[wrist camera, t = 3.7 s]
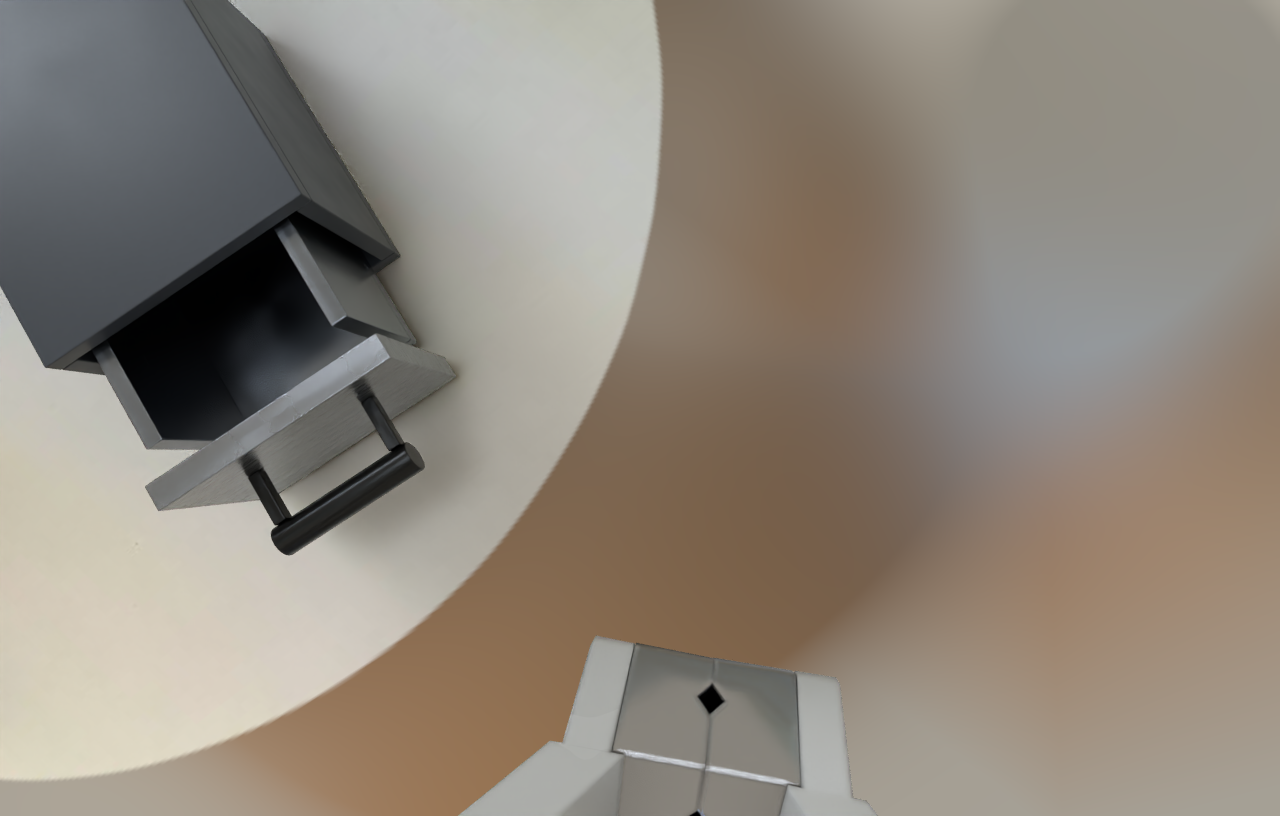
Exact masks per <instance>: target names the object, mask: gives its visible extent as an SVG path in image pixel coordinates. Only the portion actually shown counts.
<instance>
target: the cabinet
mask: <svg viewBox="0 0 1280 816" xmlns="http://www.w3.org/2000/svg"><path fill="white" fill-rule="evenodd" d="M295 211H297V212H299V213H301V214H303V215H304V216H306V217H308V218H309V219H311V220H313V221H315V222H316V223H318V224H320V225H321V226H323V227H325V228H327V229H328V230H330V231H332V232H334V233H335V234H337V235H339V236H340V237H342V238H344V239H346V240H347V241H349V242H351V243H353V244H354V245H356V246H358V247H359V248H360V249H361V251H362V252H363V254H364V256H365V257H366V259H367V261H368V262H369V264H370V265H371V267H372V269H373V270H374V272H375V273H376V272H378V271H379V270H381V269H382V268H384V267H385V266H387V265H388V264H390V263H391V262H393V261H394V260H396V259H397V258H399V257H400V254H399V253H398V251H397V249H396V248H395V246H394V244H393V243H392V241H391V240H390V238H389V236H388V235H387V233H386V231H385V230H384V228H383V227H382V225H381V223H380V222H379V220H378V218H377V217H376V215H375V214H374V212H373V210H372V209H371V207H370V205H369V204H368V202H367V201H366V199H365V197H364V196H363V194H362V192H361V191H360V189H359V188H358V186H357V184H356V183H355V181H354V179H353V178H352V176H351V175H350V173H349V171H348V170H347V168H346V166H345V165H344V163H343V162H342V160H341V158H340V157H339V155H338V153H337V152H336V150H335V149H334V147H333V145H332V144H331V142H330V140H329V139H328V137H327V136H326V134H325V132H324V131H323V129H322V127H321V126H320V124H319V123H318V121H317V119H316V118H315V116H314V114H313V113H312V111H311V110H310V108H309V106H308V105H307V103H306V101H305V100H304V98H303V97H302V95H301V93H300V92H299V90H298V88H297V87H296V85H295V84H294V82H293V80H292V79H291V77H290V75H289V74H288V72H287V71H286V69H285V67H284V66H283V64H282V62H281V61H280V59H279V58H278V56H277V54H276V53H275V51H274V49H273V48H272V46H271V45H270V43H269V41H268V40H267V38H266V37H265V35H264V34H263V33H262V32H261V31H260V30H259V29H258V28H257V27H256V26H255V25H254V24H253V23H251V22H250V21H249V20H248V19H247V18H246V17H245V16H244V15H243V14H242V13H241V12H240V11H239V10H238V9H236V8H235V7H234V6H233V5H232V4H231V3H230V2H229V1H228V0H0V286H1V288H2V290H3V292H4V294H5V295H6V297H7V299H8V301H9V303H10V305H11V306H12V308H13V310H14V312H15V314H16V315H17V317H18V319H19V321H20V323H21V325H22V326H23V328H24V330H25V332H26V334H27V335H28V337H29V339H30V341H31V343H32V345H33V346H34V348H35V350H36V352H37V354H38V356H39V357H40V359H41V361H42V363H43V365H44V366H45V367H46V368H52V369H60V370H61V369H63V370H68V371H76V372H84V373H92V374H100V375H105V374H104V372H103V370H102V368H101V366H100V365H99V363H98V361H97V359H96V357H95V356H94V354H93V352H92V350H91V349H93V348H94V347H96V346H97V345H99V344H100V343H102V342H103V341H105V340H106V339H107V338H109V337H110V336H112V335H113V334H115V333H116V332H118V331H119V330H121V329H122V328H124V327H125V326H127V325H128V324H130V323H131V322H133V321H134V320H136V319H137V318H138V317H140V316H141V315H143V314H144V313H146V312H147V311H149V310H150V309H152V308H153V307H155V306H156V305H158V304H159V303H161V302H162V301H164V300H165V299H167V298H168V297H169V296H171V295H172V294H174V293H175V292H177V291H178V290H180V289H181V288H183V287H184V286H186V285H187V284H189V283H190V282H192V281H193V280H195V279H196V278H198V277H199V276H200V275H202V274H203V273H205V272H206V271H208V270H209V269H211V268H212V267H214V266H215V265H217V264H218V263H220V262H221V261H223V260H224V259H226V258H227V257H229V256H230V255H231V254H233V253H234V252H236V251H237V250H239V249H240V248H242V247H243V246H245V245H246V244H248V243H249V242H251V241H252V240H254V239H255V238H257V237H258V236H260V235H261V234H263V233H264V232H265V231H267V230H268V229H270V228H271V227H273V226H274V225H276V224H277V223H279V222H280V221H282V220H283V219H285V218H286V217H288V216H289V215H291V214H292V213H294V212H295Z"/></svg>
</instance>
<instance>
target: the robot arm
mask: <svg viewBox="0 0 1280 816" xmlns="http://www.w3.org/2000/svg"><path fill="white" fill-rule="evenodd" d="M852 792H853V791H852V783H851V774H850V766H849V757H848V749H847V740H846V731H845V723H844V715H843V706H842V697H841V688H840V684H839V682H838V680H837V679H836V678H835V677H829V676H823V675H817V674H811V673H804V672H798V671H795V672H793V671H791V670H785V669H779V668H772V667H766V666H760V665H755V664H748V663H742V662H736V661H730V660H724V659H718V658H709V657H704V656H699V655H694V654H689V653H684V652H679V651H674V650H669V649H664V648H659V647H654V646H649V645H644V644H639V643H636V645H635V644H634V643H629V642H624V641H619V640H614V639H610V638H605V637H600V636H596V637H595V638H594V640H593V642H592V644H591V646H590V650H589V653H588V656H587V660H586V663H585V667H584V670H583V673H582V677H581V680H580V684H579V687H578V691H577V694H576V697H575V701H574V704H573V708H572V711H571V715H570V718H569V722H568V725H567V729H566V732H565V736H564V739H563V742H562V743H560V742H554V741H549V742H548V743H547V744H546V745H544V746H543V747H542V748H541V749H540V750H538V751H537V752H536V753H535V754H533V755H532V756H531V757H530V758H529V759H527V760H526V761H525V762H524V763H522V764H521V765H520V766H519V767H517V768H516V769H515V770H514V771H513V772H511V773H510V774H509V775H508V776H506V777H505V778H504V779H503V780H501V781H500V782H499V783H498V784H497V785H495V786H494V787H493V788H492V789H490V790H489V791H488V792H487V793H486V794H484V795H483V796H482V797H481V798H479V799H478V800H477V801H476V802H475V803H473V804H472V805H471V806H469V807H468V808H467V809H466V810H465V811H463V812H462V813H461V814H460V815H459V816H878V815H877V814H876V812H875V811H874V810H873V808H872V807H871V806H870V805H869V803H868V802H867V801H865V800H861V799H856V798H853V793H852Z"/></svg>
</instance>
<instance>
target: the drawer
mask: <svg viewBox="0 0 1280 816" xmlns="http://www.w3.org/2000/svg"><path fill="white" fill-rule="evenodd" d="M416 342H417V341H416V339H415V338H414V336H413V334H412V333H411V331H410V329H409V328H408V326H407V324H406V323H405V321H404V320H403V318H402V316H401V315H400V313H399V311H398V310H397V308H396V306H395V305H394V303H393V301H392V300H391V298H390V297H389V295H388V293H387V292H386V290H385V288H384V287H383V285H382V283H381V282H380V280H379V279H378V277H377V275H376V274H375V272H374V270H373V269H372V267H371V265H370V264H369V262H368V261H367V259H366V257H365V256H364V254H363V252H362V251H361V249H360V248H359V247H358V246H356V245H354V244H353V243H351V242H349V241H347V240H346V239H344V238H342V237H340V236H339V235H337V234H335V233H334V232H332V231H330V230H328V229H327V228H325V227H323V226H321V225H320V224H318V223H316V222H315V221H313V220H311V219H309V218H308V217H306V216H304V215H303V214H301V213H299V212H297V211H295V212H294V213H292V214H291V215H289V216H288V217H286V218H285V219H283V220H282V221H280V222H279V223H277V224H276V225H274V226H273V227H271V228H270V229H268V230H267V231H265V232H264V233H263V234H261V235H260V236H258V237H257V238H255V239H254V240H252V241H251V242H249V243H248V244H246V245H245V246H243V247H242V248H240V249H239V250H237V251H236V252H234V253H233V254H231V255H230V256H229V257H227V258H226V259H224V260H223V261H221V262H220V263H218V264H217V265H215V266H214V267H212V268H211V269H209V270H208V271H206V272H205V273H203V274H202V275H200V276H199V277H198V278H196V279H195V280H193V281H192V282H190V283H189V284H187V285H186V286H184V287H183V288H181V289H180V290H178V291H177V292H175V293H174V294H172V295H171V296H169V297H168V298H167V299H165V300H164V301H162V302H161V303H159V304H158V305H156V306H155V307H153V308H152V309H150V310H149V311H147V312H146V313H144V314H143V315H141V316H140V317H138V318H137V319H136V320H134V321H133V322H131V323H130V324H128V325H127V326H125V327H124V328H122V329H121V330H119V331H118V332H116V333H115V334H113V335H112V336H110V337H109V338H107V339H106V340H105V341H103V342H102V343H100V344H99V345H97V346H96V347H94V348H93V349H91V350H92V352H93V354H94V356H95V357H96V359H97V361H98V363H99V365H100V366H101V368H102V370H103V372H104V374H105V375H106V377H107V379H108V381H109V383H110V384H111V386H112V388H113V390H114V391H115V393H116V395H117V397H118V399H119V400H120V402H121V404H122V406H123V408H124V409H125V411H126V413H127V415H128V417H129V418H130V420H131V422H132V424H133V426H134V427H135V429H136V431H137V433H138V434H139V436H140V438H141V440H142V442H143V443H144V445H145V447H146V449H168V450H199V451H198V452H196V453H195V454H193V455H192V456H190V457H189V458H187V459H186V460H184V461H182V462H181V463H179V464H178V465H176V466H175V467H173V468H172V469H170V470H169V471H167V472H166V473H164V474H163V475H161V476H160V477H158V478H157V479H155V480H154V481H152V482H151V483H149V484H148V485H146V486H145V488H146V490H147V491H148V493H149V495H150V497H151V499H152V500H153V502H154V504H155V506H156V508H157V509H158V511H163V510H173V509H182V508H191V507H200V506H210V505H219V504H228V503H237V502H247V501H256V500H261V502H262V504H263V506H264V507H265V509H266V511H267V513H268V514H269V516H270V518H271V520H272V521H273V523H274V525H275V526H276V525H278V526H277V527H275V528H274V529H273V530H272V531H271V538H272V541H273V543H274V545H275V546H276V547H277V549H278V550H279V551H280V552H282V553H283V554H285V555H293V554H294V553H296V552H297V551H299V550H300V549H302V548H303V547H305V546H307V545H308V544H310V543H311V542H313V541H314V540H316V539H317V538H319V537H320V536H322V535H323V534H325V533H326V532H328V531H330V530H331V529H333V528H334V527H336V526H337V525H339V524H340V523H342V522H343V521H345V520H346V519H348V518H350V517H351V516H353V515H354V514H356V513H357V512H359V511H360V510H362V509H363V508H365V507H366V506H368V505H370V504H371V503H373V502H374V501H376V500H377V499H379V498H380V497H382V496H383V495H385V494H386V493H388V492H389V491H391V490H393V489H394V488H396V487H397V486H399V485H400V484H402V483H403V482H405V481H406V480H408V479H409V478H411V477H413V476H414V475H416V474H417V473H419V472H420V471H422V470H423V469H424V468H425V464H424V461H423V459H422V457H421V455H420V453H419V452H418V451H417V450H416V448H415V447H414V446H413V445H411V444H410V443H408V442H406V443H404V442H403V440H402V438H401V437H400V435H399V433H398V432H397V430H396V428H395V427H394V425H393V423H392V422H391V419H393V418H394V417H396V416H397V415H399V414H401V413H402V412H404V411H405V410H407V409H408V408H410V407H411V406H413V405H414V404H416V403H417V402H419V401H420V400H422V399H423V398H425V397H426V396H428V395H429V394H431V393H433V392H434V391H436V390H437V389H439V388H440V387H442V386H443V385H445V384H446V383H448V382H449V381H451V380H452V379H454V378H455V377H456V375H455V374H454V372H453V370H452V369H451V367H450V365H449V364H448V362H447V360H446V359H445V358H444V357H442V356H439V355H436V354H434V353H431V352H428V351H425V350H422V349H419V348H417V347H414V346H412V345H413V344H415V343H416ZM375 430H377V432H378V433H379V435H380V437H381V438H382V440H383V442H384V444H385V445H386V447H387V449H388V450H389V451H391V452H390V453H388V454H387V455H385V456H384V457H382V458H381V459H379V460H377V461H376V462H374V463H373V464H371V465H370V466H368V467H367V468H365V469H364V470H362V471H361V472H359V473H358V474H356V475H355V476H353V477H351V478H350V479H348V480H347V481H345V482H344V483H342V484H341V485H339V486H338V487H336V488H335V489H333V490H332V491H330V492H329V493H327V494H325V495H324V496H322V497H321V498H319V499H318V500H316V501H315V502H313V503H312V504H310V505H309V506H307V507H306V508H304V509H303V510H301V511H299V512H298V513H296V514H295V515H293V516H291V514H290V512H289V511H288V509H287V507H286V506H285V504H284V502H283V500H282V499H281V497H280V495H279V493H280V492H282V491H283V490H285V489H286V488H288V487H289V486H291V485H292V484H294V483H295V482H297V481H298V480H300V479H301V478H303V477H305V476H306V475H308V474H309V473H311V472H312V471H314V470H315V469H317V468H318V467H320V466H321V465H323V464H324V463H326V462H327V461H329V460H330V459H332V458H333V457H335V456H337V455H338V454H340V453H341V452H343V451H344V450H346V449H347V448H349V447H350V446H352V445H353V444H355V443H356V442H358V441H359V440H361V439H362V438H364V437H365V436H367V435H369V434H370V433H372V432H373V431H375Z"/></svg>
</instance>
